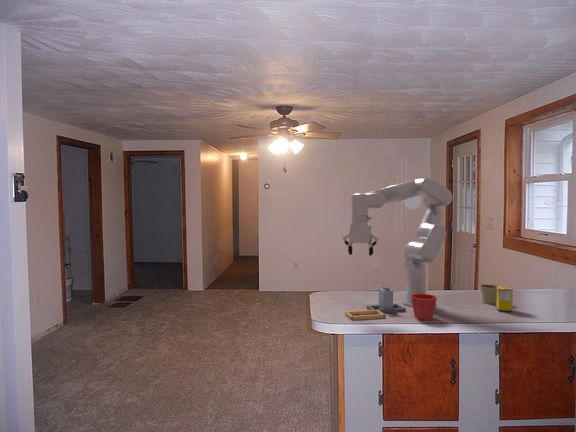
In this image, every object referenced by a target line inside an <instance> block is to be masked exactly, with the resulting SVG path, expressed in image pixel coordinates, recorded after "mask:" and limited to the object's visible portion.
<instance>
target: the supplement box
mask: <svg viewBox="0 0 576 432" xmlns="http://www.w3.org/2000/svg"><path fill="white" fill-rule="evenodd" d="M496 286H497V302H496V309H497V311H498V312H501V313H502V312H505V313H513V300H514V299H513V298H514V297H513V293H514V292H513V288H511V287H510V286H499V285H496Z"/></svg>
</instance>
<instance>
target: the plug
mask: <svg viewBox="0 0 576 432" xmlns="http://www.w3.org/2000/svg"><path fill="white" fill-rule="evenodd" d="M393 304H394V289H392V288H390V287H388V286H382V287H381V288H378V305H379V308H378V309H392V308H393Z"/></svg>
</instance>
